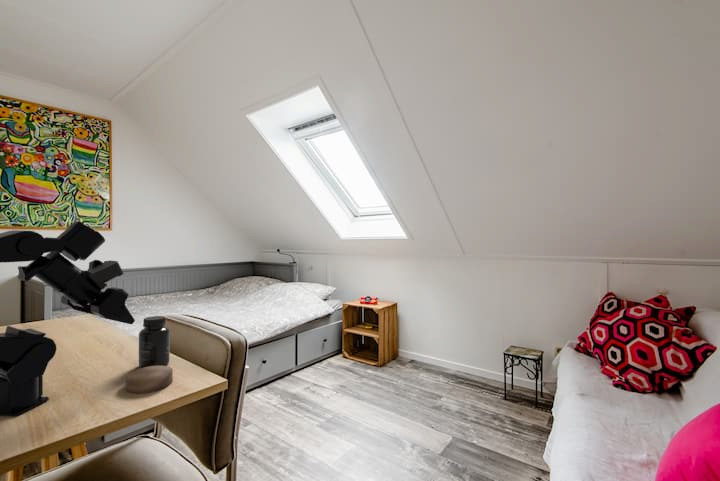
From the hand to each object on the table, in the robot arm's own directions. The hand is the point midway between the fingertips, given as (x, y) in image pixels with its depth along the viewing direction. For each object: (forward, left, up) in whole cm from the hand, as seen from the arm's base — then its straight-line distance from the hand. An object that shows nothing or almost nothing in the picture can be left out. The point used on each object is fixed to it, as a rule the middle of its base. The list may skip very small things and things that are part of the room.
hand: (122, 319), depth 84 cm
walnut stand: (-4, -10, -13) cm, 17 cm away
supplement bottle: (+7, -4, -13) cm, 15 cm away
